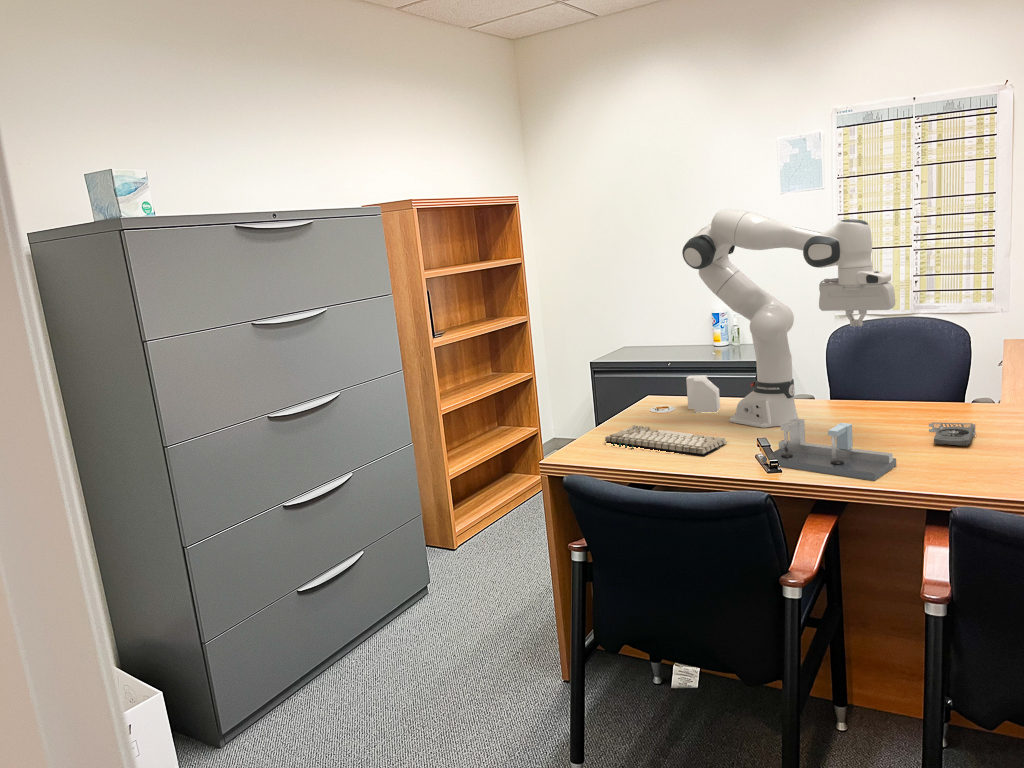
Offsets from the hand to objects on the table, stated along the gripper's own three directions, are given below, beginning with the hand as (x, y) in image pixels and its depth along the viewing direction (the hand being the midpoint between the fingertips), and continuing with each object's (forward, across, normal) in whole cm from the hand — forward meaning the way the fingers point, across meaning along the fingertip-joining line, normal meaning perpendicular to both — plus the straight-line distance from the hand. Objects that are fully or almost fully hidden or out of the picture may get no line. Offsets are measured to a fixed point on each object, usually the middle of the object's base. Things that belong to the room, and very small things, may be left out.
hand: (856, 326), depth 213 cm
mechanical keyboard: (+35, -50, -26) cm, 66 cm away
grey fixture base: (+34, +2, -25) cm, 42 cm away
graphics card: (+35, +20, +12) cm, 42 cm away
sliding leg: (+31, +5, -24) cm, 40 cm away
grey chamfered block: (+34, -64, +18) cm, 75 cm away
